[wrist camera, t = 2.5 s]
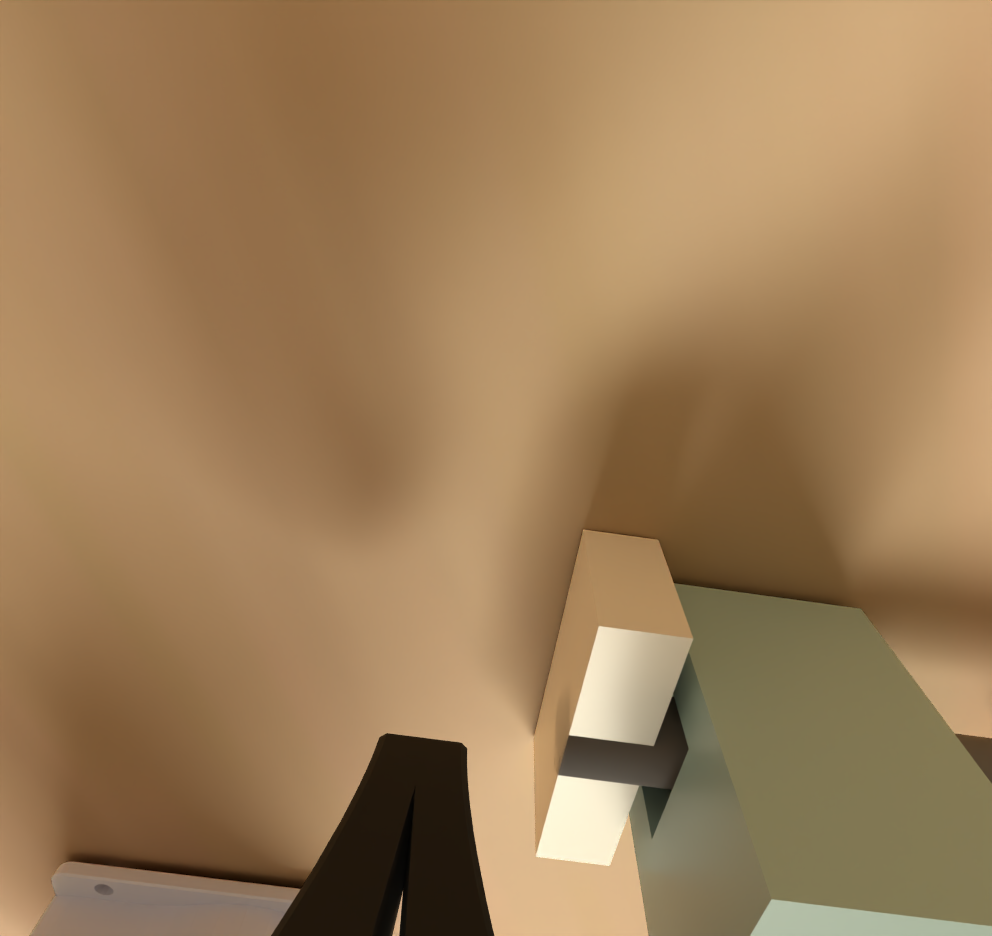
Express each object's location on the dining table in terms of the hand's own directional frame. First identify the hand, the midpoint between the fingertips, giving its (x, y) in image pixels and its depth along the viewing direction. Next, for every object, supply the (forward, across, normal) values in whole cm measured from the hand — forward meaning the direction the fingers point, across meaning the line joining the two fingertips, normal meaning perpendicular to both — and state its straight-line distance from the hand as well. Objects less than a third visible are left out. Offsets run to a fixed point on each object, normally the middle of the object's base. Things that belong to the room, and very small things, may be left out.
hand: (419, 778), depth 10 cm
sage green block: (+4, -6, 0) cm, 7 cm away
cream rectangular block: (+4, -3, 0) cm, 5 cm away
